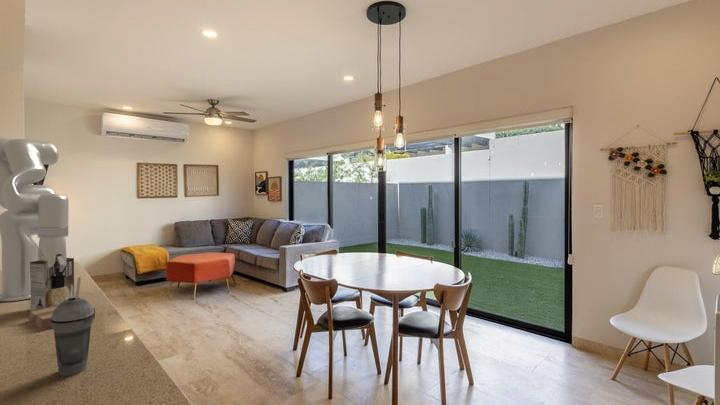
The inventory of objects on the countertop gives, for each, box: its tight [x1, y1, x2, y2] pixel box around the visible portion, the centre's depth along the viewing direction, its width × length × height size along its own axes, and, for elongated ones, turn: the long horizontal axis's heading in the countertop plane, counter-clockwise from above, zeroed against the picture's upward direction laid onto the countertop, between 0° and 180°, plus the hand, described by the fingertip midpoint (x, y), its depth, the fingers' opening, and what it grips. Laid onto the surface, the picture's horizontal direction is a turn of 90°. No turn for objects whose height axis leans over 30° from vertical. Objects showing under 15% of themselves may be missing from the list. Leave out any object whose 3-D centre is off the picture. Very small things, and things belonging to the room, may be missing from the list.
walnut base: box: [28, 306, 96, 331], centre depth 104 cm, size 12×12×3 cm
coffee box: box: [29, 257, 75, 311], centre depth 114 cm, size 9×6×16 cm
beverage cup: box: [51, 277, 96, 377], centre depth 74 cm, size 7×7×20 cm
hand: (52, 285), depth 114 cm, fingers closed on coffee box, 8 cm apart
